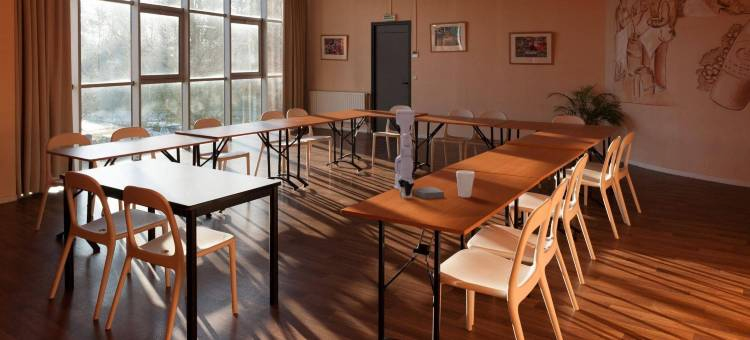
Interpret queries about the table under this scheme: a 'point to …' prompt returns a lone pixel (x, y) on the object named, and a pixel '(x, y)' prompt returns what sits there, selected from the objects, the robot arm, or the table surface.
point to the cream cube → (402, 193)
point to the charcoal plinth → (428, 193)
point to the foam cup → (465, 182)
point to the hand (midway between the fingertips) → (405, 194)
